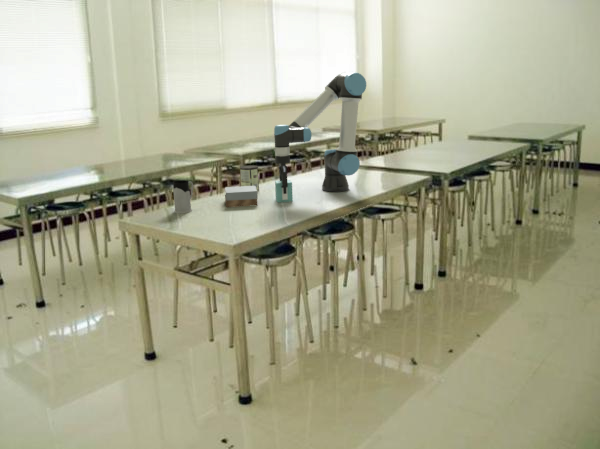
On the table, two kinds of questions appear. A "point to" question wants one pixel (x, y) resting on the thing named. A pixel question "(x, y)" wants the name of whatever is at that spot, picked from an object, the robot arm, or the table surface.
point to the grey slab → (241, 193)
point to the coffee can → (249, 176)
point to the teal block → (279, 191)
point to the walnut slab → (240, 202)
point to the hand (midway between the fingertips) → (284, 197)
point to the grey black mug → (182, 196)
